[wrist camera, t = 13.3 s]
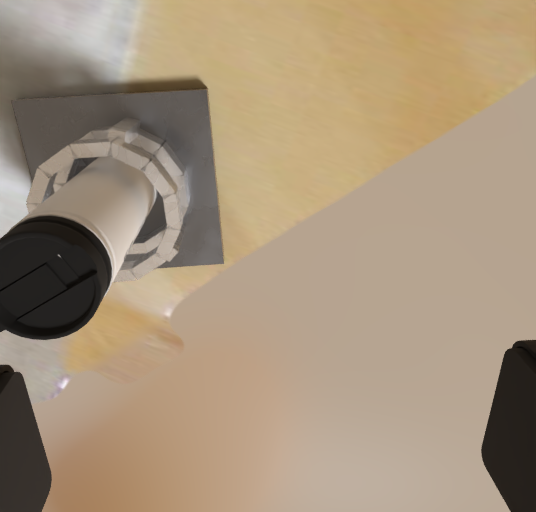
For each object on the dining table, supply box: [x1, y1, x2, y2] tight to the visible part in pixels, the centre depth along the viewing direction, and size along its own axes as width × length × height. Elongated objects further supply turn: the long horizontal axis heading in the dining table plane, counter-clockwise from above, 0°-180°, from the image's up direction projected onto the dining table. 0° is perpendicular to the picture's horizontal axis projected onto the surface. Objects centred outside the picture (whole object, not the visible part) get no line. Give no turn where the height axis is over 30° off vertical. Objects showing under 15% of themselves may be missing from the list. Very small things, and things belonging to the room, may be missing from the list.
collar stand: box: [12, 88, 224, 282], centre depth 40 cm, size 16×16×9 cm
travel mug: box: [0, 156, 158, 340], centre depth 33 cm, size 6×7×20 cm
